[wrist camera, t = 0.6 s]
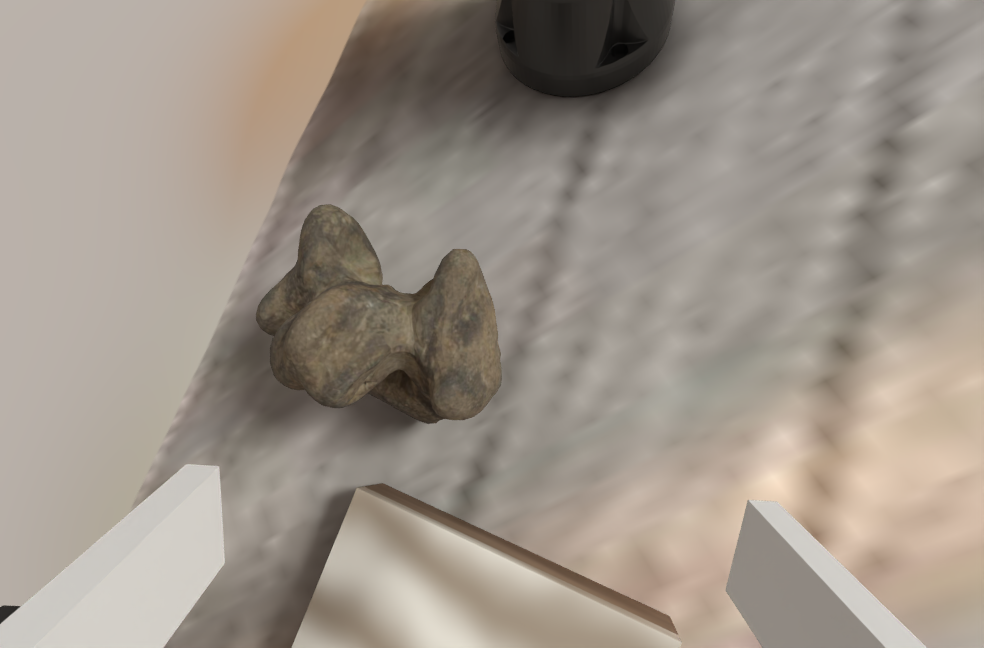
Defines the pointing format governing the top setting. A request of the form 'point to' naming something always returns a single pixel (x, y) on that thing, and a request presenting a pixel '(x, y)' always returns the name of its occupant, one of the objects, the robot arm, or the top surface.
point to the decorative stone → (381, 327)
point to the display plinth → (459, 589)
